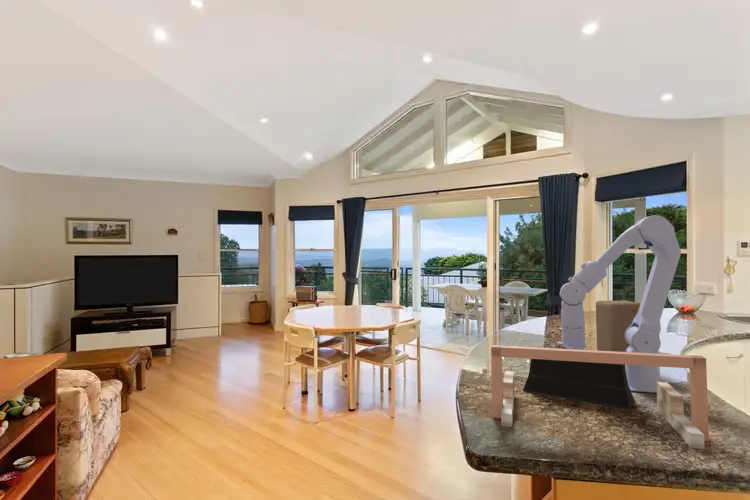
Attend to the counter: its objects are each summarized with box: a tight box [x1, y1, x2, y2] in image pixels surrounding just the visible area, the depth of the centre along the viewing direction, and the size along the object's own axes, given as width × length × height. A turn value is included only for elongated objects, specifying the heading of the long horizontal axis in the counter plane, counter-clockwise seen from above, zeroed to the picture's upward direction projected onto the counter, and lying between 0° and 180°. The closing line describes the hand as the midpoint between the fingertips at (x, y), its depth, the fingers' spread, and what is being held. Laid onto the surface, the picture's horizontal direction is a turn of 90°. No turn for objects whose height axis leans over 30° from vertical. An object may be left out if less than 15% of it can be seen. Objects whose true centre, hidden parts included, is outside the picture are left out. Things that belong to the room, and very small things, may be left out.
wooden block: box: [595, 300, 641, 352], centre depth 128 cm, size 10×10×20 cm
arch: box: [490, 344, 710, 442], centre depth 83 cm, size 2×38×15 cm, turn 70°
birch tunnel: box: [500, 370, 705, 450], centre depth 88 cm, size 20×34×6 cm, turn 70°
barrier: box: [522, 359, 635, 411], centre depth 103 cm, size 24×9×10 cm, turn 53°
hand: (574, 377), depth 113 cm, fingers open, 7 cm apart
